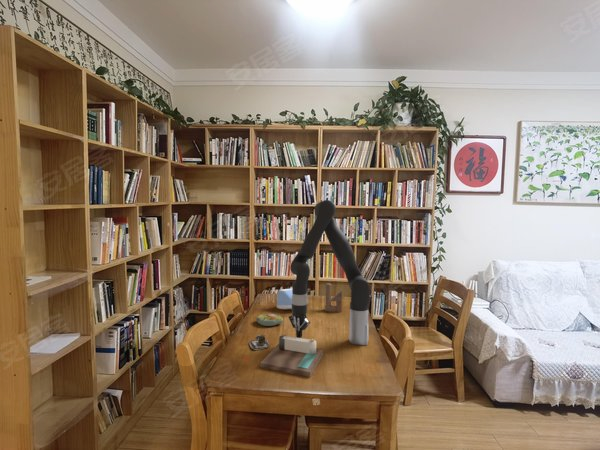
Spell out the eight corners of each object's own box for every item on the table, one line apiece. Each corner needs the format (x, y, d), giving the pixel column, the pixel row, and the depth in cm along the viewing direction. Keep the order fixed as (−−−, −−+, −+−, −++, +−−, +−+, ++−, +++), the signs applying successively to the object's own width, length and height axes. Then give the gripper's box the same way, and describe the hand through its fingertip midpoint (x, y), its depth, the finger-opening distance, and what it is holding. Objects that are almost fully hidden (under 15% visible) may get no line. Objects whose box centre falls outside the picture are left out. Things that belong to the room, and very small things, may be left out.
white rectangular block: (317, 351, 142) (317, 338, 141) (314, 354, 138) (315, 341, 138) (281, 345, 148) (281, 332, 147) (277, 348, 144) (277, 336, 143)
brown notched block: (341, 312, 201) (342, 285, 200) (325, 311, 202) (325, 284, 201) (341, 310, 204) (342, 283, 203) (325, 310, 206) (325, 283, 205)
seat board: (323, 354, 143) (323, 350, 143) (310, 377, 124) (310, 371, 124) (278, 347, 150) (278, 343, 150) (260, 367, 131) (260, 362, 131)
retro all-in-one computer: (267, 307, 210) (267, 287, 209) (291, 303, 220) (291, 284, 219) (281, 317, 192) (281, 295, 192) (307, 312, 202) (307, 291, 201)
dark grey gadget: (258, 334, 162) (273, 331, 156) (260, 347, 160) (276, 344, 154) (241, 339, 152) (256, 335, 146) (243, 353, 150) (259, 350, 145)
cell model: (259, 315, 187) (282, 307, 184) (263, 328, 185) (286, 320, 182) (251, 318, 177) (275, 310, 173) (255, 331, 175) (279, 324, 172)
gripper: (314, 303, 149) (314, 339, 150) (295, 298, 158) (294, 331, 159) (304, 307, 143) (303, 344, 144) (284, 301, 153) (284, 335, 154)
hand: (299, 337), depth 152 cm, fingers closed
